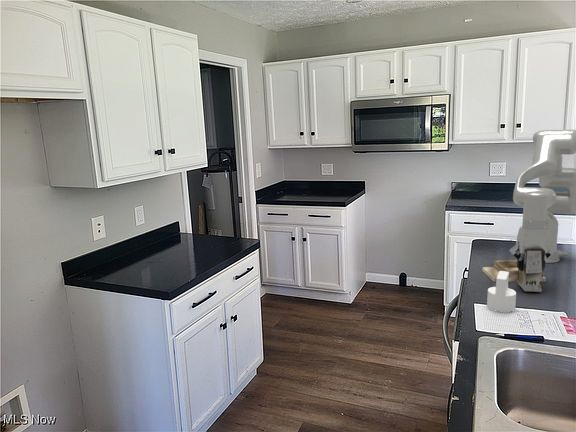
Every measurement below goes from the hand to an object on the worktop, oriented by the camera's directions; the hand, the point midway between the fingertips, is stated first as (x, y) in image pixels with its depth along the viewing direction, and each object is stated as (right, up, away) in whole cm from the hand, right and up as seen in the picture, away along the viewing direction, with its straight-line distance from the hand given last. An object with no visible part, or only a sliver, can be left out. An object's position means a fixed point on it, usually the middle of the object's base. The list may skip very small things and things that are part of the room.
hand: (530, 269), depth 168 cm
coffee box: (0, -7, +2) cm, 8 cm away
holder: (+2, -5, +17) cm, 18 cm away
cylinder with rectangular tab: (-17, -12, -13) cm, 25 cm away
